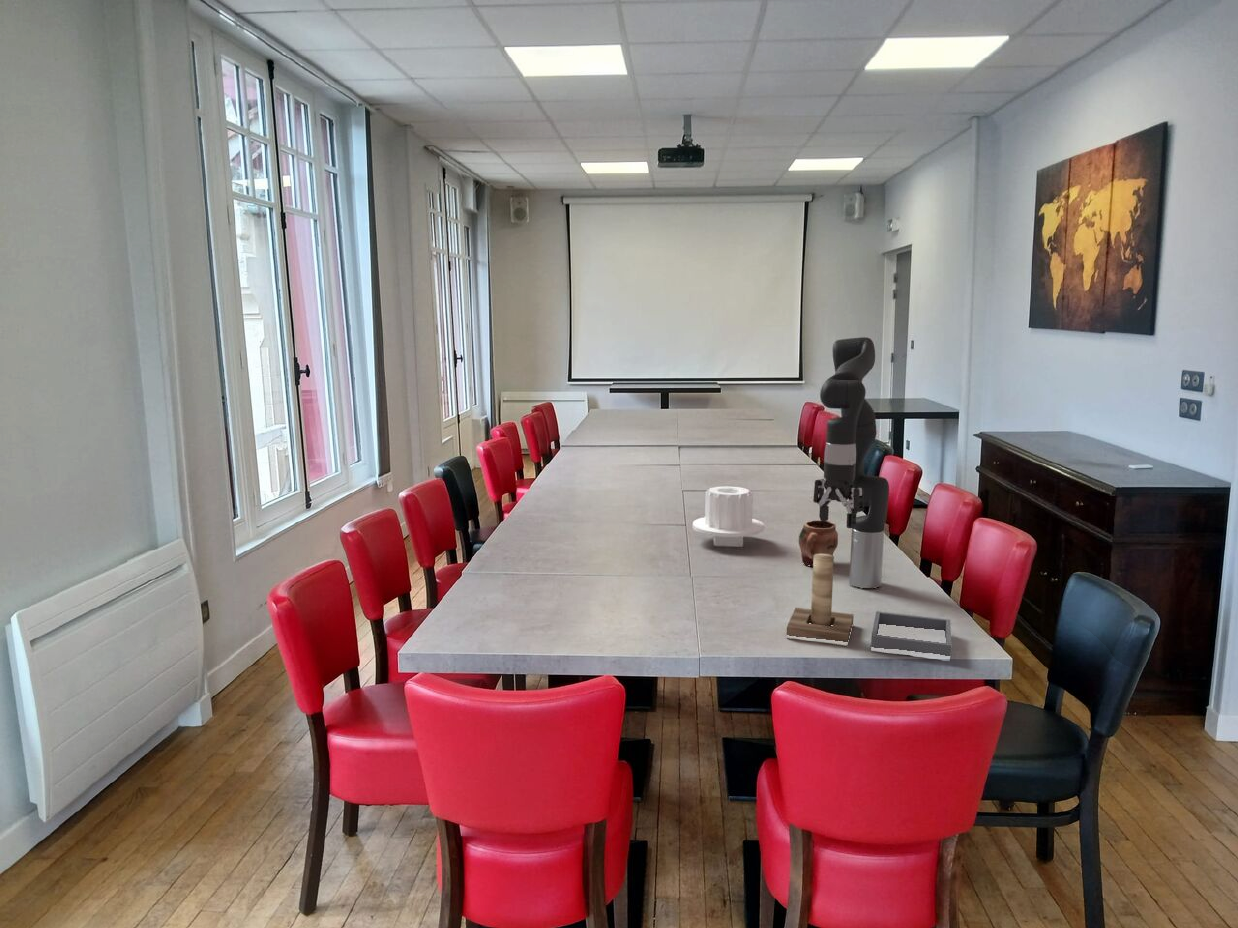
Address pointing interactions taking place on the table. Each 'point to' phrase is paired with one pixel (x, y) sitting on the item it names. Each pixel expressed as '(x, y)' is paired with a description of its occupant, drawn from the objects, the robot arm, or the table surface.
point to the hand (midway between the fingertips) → (837, 524)
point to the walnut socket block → (820, 626)
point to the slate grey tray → (911, 644)
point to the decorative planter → (817, 540)
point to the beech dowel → (822, 589)
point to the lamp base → (728, 516)
